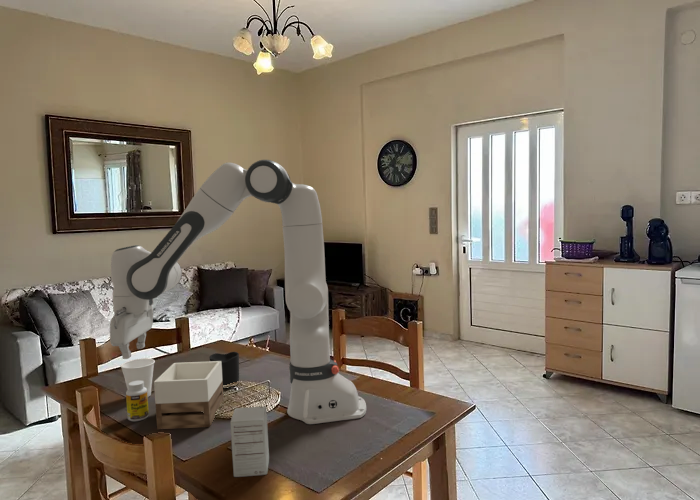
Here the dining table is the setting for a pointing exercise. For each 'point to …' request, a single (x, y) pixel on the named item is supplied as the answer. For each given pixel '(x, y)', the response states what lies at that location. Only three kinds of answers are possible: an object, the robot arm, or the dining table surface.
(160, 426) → the lower crate
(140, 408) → the supplement bottle
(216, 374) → the upper crate
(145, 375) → the cup
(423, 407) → the dining table surface
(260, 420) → the supplement box
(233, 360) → the pen holder
